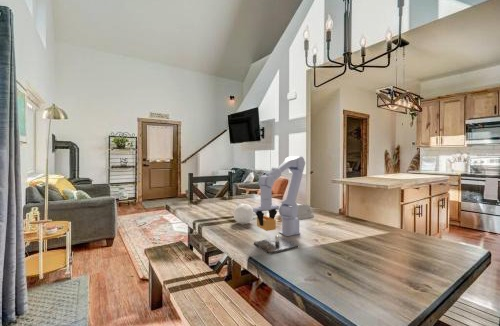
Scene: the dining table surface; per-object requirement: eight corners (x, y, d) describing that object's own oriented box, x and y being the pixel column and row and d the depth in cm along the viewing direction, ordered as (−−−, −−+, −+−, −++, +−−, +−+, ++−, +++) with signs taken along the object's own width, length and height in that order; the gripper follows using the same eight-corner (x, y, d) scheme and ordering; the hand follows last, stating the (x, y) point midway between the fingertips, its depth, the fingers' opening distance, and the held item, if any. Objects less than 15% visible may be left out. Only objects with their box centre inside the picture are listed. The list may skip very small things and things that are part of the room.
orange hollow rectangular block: (265, 224, 137) (265, 215, 137) (275, 229, 128) (275, 219, 128) (256, 226, 134) (256, 216, 134) (266, 230, 126) (266, 220, 125)
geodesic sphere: (229, 218, 155) (242, 200, 156) (226, 213, 168) (238, 196, 170) (247, 231, 158) (260, 212, 159) (243, 225, 171) (254, 208, 173)
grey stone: (295, 220, 171) (292, 205, 174) (291, 220, 175) (288, 206, 178) (314, 216, 179) (311, 203, 182) (310, 217, 183) (306, 204, 186)
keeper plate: (280, 238, 134) (280, 228, 134) (298, 247, 121) (298, 236, 121) (253, 243, 127) (253, 233, 126) (269, 254, 113) (269, 242, 113)
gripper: (273, 196, 137) (274, 221, 138) (250, 198, 131) (250, 224, 131) (281, 198, 131) (281, 224, 132) (256, 200, 125) (256, 228, 125)
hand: (266, 224), depth 131 cm, fingers closed on orange hollow rectangular block, 5 cm apart
